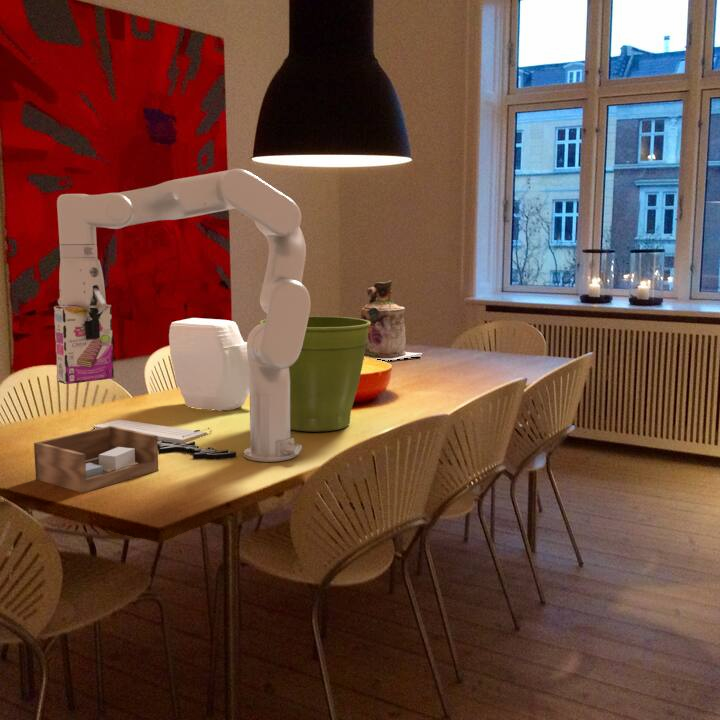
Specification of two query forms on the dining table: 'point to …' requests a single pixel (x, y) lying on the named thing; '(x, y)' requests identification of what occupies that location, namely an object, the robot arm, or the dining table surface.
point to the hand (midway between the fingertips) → (83, 336)
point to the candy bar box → (82, 346)
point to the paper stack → (210, 363)
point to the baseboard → (157, 430)
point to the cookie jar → (384, 325)
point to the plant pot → (327, 373)
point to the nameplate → (193, 450)
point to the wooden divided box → (93, 457)
